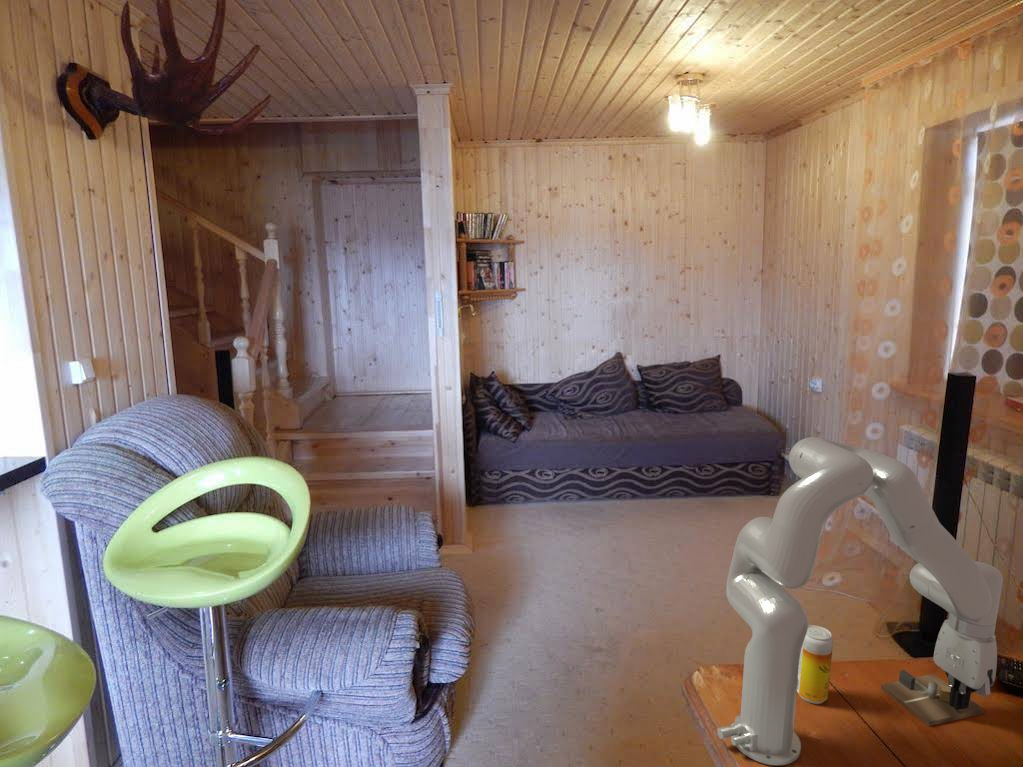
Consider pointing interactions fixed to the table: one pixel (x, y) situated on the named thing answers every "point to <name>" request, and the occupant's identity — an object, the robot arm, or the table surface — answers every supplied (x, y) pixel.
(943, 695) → the latch bar
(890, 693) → the lock board
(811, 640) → the beer can
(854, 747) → the table surface
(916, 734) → the table surface
